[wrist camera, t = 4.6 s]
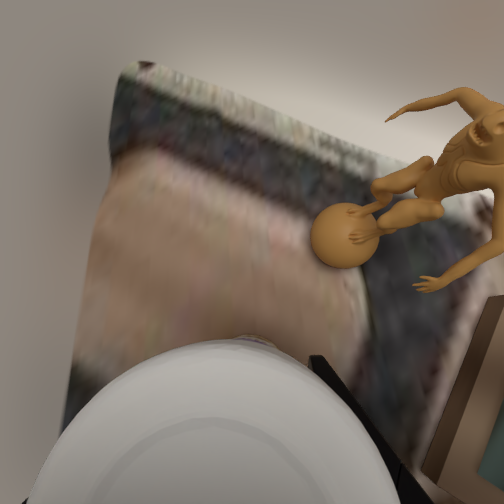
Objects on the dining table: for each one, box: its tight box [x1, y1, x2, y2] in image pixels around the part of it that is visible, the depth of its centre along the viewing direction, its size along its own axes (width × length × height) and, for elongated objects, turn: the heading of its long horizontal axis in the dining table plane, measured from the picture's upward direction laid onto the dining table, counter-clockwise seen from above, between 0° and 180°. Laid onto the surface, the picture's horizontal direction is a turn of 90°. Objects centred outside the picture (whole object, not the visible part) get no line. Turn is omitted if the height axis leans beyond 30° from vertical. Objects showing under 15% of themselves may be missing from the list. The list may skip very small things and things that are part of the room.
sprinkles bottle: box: [26, 334, 400, 504], centre depth 9 cm, size 5×5×14 cm
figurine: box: [310, 87, 504, 293], centre depth 13 cm, size 8×6×12 cm
